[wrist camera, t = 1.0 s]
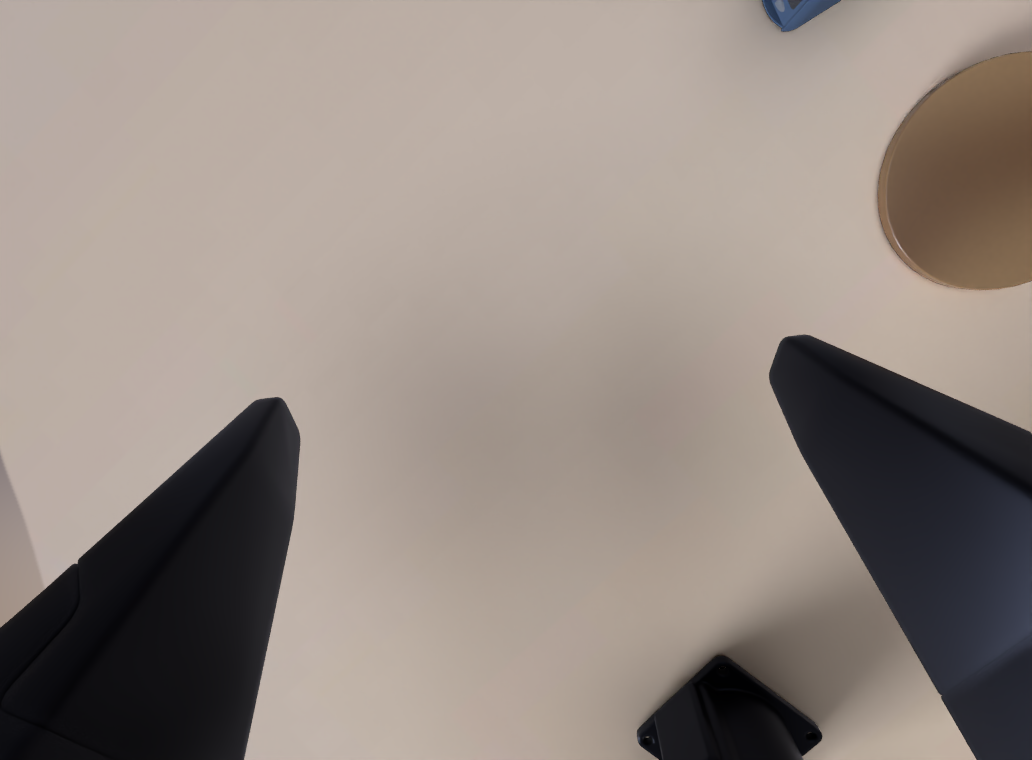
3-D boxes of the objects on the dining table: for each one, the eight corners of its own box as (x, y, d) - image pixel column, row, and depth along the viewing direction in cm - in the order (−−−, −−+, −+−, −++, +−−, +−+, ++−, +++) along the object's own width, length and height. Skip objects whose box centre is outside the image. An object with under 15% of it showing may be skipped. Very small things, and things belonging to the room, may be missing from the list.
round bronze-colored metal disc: (1172, 152, 19) (1188, 149, 18) (987, 331, 20) (997, 333, 20) (1002, 5, 18) (1014, -2, 18) (830, 202, 20) (836, 200, 20)
